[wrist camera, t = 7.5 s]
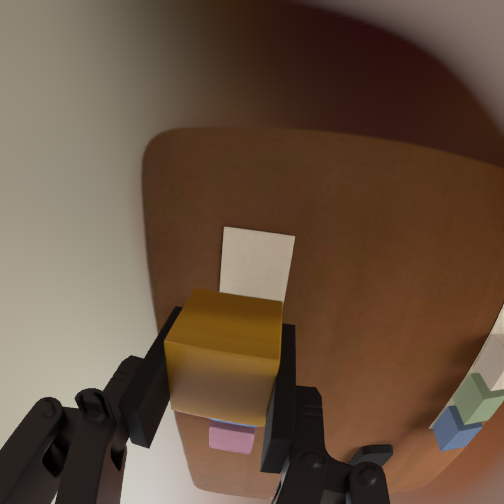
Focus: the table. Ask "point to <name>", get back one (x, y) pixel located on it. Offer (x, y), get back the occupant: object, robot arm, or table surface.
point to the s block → (224, 356)
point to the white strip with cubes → (474, 394)
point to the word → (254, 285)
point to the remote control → (373, 455)
